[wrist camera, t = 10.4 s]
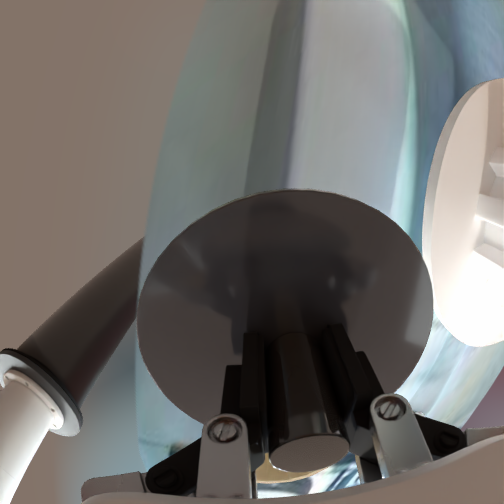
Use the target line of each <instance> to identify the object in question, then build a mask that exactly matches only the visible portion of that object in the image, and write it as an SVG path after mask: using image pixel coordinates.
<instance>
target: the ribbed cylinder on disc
mask: <svg viewBox="0 0 504 504" xmlns="http://www.w3.org/2000/svg"><path fill="white" fill-rule="evenodd" d="M422 251H423V259H424V262H425V264H426V266H427V268H428V272H429V275H430V279H431V283H432V289H433V298H434V310H435V313H436V314H437V316H438V318H439V320H440V321H441V322H442V324H443V325H444V326H445V327H446V328H447V329H448V330H449V331H450V332H451V333H452V334H453V335H454V336H455V337H456V338H457V339H458V340H459V341H461V342H463V343H465V344H468V345H471V346H479V347H481V346H489V345H493V344H496V343H499V342H501V341H503V340H504V78H502V79H495V80H489V81H485V82H482V83H480V84H478V85H476V86H474V87H473V88H471V89H470V90H469V91H468V92H466V93H465V94H464V95H463V97H462V98H461V99H460V100H459V101H458V103H457V104H456V105H455V107H454V108H453V110H452V112H451V113H450V115H449V117H448V119H447V121H446V123H445V125H444V128H443V130H442V132H441V135H440V138H439V140H438V143H437V146H436V150H435V153H434V157H433V160H432V164H431V169H430V173H429V178H428V183H427V189H426V196H425V204H424V214H423V231H422Z"/></svg>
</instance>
